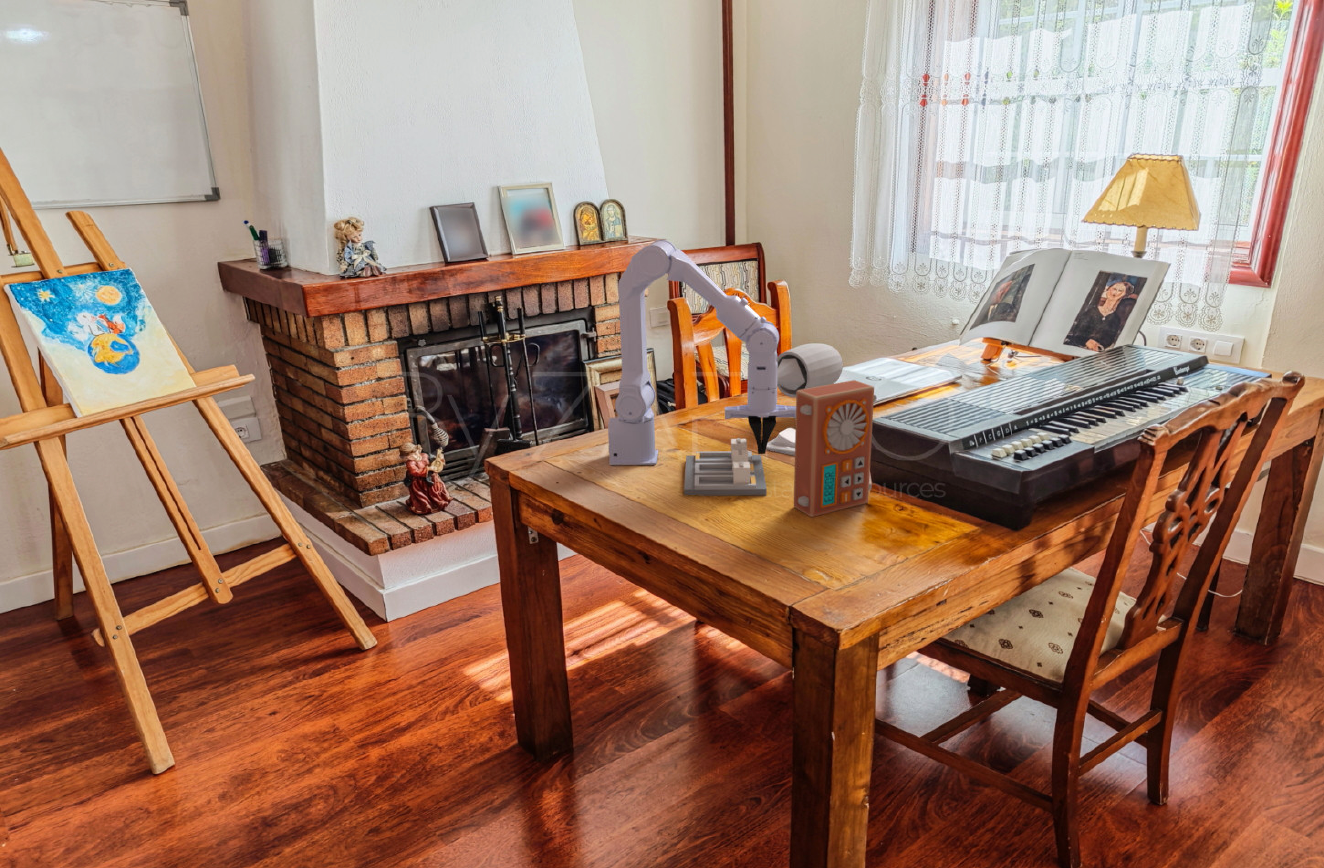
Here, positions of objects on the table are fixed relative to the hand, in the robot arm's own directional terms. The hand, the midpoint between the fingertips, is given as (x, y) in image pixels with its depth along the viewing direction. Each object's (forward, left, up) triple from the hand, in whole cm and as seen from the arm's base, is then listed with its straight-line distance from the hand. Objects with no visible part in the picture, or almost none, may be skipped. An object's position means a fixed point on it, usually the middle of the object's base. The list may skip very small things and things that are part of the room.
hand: (761, 452), depth 173 cm
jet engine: (+11, +29, -3) cm, 31 cm away
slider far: (-5, 0, -1) cm, 5 cm away
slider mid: (-4, -6, -1) cm, 8 cm away
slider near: (-4, -13, -1) cm, 14 cm away
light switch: (+8, +11, -3) cm, 14 cm away
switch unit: (-7, -7, -3) cm, 10 cm away
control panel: (+11, -20, -3) cm, 23 cm away
